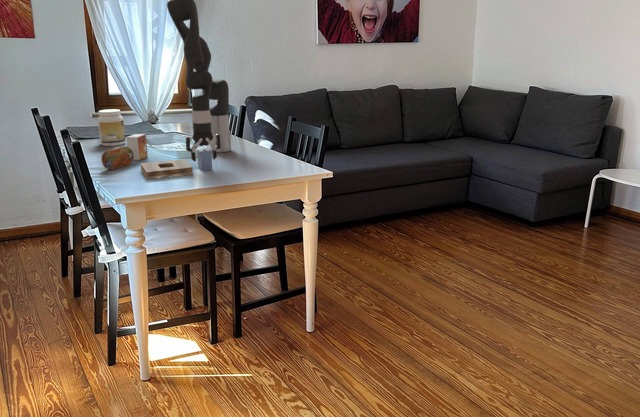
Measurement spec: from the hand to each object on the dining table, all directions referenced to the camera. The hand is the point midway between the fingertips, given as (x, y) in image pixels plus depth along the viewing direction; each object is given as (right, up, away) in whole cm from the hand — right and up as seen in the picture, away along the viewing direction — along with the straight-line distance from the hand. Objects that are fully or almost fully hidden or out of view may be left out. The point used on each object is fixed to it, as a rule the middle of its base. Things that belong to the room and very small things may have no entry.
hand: (204, 159), depth 246 cm
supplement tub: (-56, +12, +52) cm, 77 cm away
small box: (-34, +2, +20) cm, 39 cm away
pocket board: (-14, -6, -5) cm, 16 cm away
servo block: (0, -4, +1) cm, 4 cm away
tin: (-37, -3, +4) cm, 38 cm away
